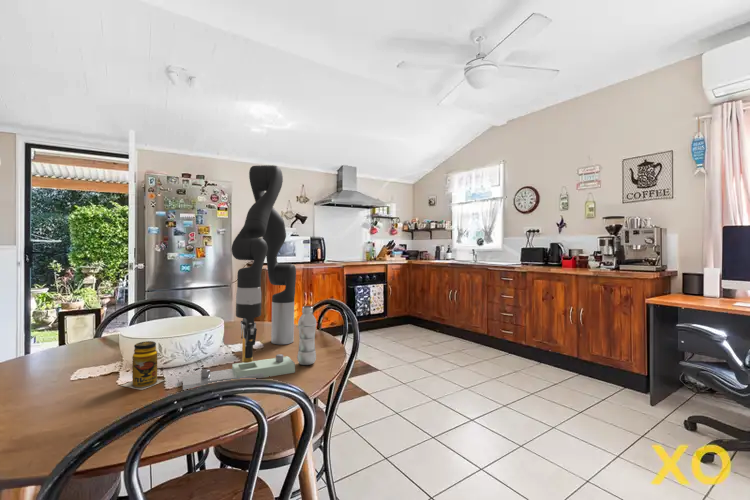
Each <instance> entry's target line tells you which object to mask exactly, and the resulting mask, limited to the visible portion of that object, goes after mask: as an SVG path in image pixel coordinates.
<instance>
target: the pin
mask: <svg viewBox="0 0 750 500" xmlns="http://www.w3.org/2000/svg"><path fill="white" fill-rule="evenodd" d="M246 336H247V335H246ZM241 341H242V346H241V348H242V351H241V363H243V362H244V363H248V362H252V361H254V356H253V357H252V358H245V339H244V338H243V339H242V338H241ZM249 341H252V339H250V340H249Z"/></svg>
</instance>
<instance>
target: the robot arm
mask: <svg viewBox="0 0 750 500" xmlns="http://www.w3.org/2000/svg"><path fill="white" fill-rule="evenodd" d="M248 177H249V178H248V179H249V184H250V187H251V191H252V195H253V198H254V203H253V204H252V205H251V207H250V208H249V209H248V211H247V214H246V218H245V221H244V225H243V227H242V228H241V229H240V230H239V232H238V233H237V235H236V236H235V238H234V239H233V242H232V244H231V250H230V251H231V255H232V256H233V259H236V260H238V261H253V262H252V265H251V266H247V267H242V268H240V269H238V270H237V282H236V284H237V285H236V292H235V293H236V294H235V316H236V317H237V318H239V319H242V320H240V331H241V332H240V333H241V335H240V336H241V337H240V339H241V340H242V339H243V338H244V339H245V358H252V357H253V358H254V346H255V345H256V339H257V331H258V329H257V322H255V318H260V316H262V272H263V267H264V263H265V259H266V264H267V266H266V267H267V268H266V269H267V276H268V281H269V283H270V284H272V285H273V286H285V287H284V290H281V291H280V292H277V293H274V294H272V297H271V335H270V337H271V340H270V341H271V344H274V345H289V344H292V343H294V340H295V339H294V338H295V337H294V335H295V334H294V333H295V297H296V280H297V267H296V266H295V264H294V263H293V264H292V263H278V254H279V252H280V250H281V248H282V247H283V245H284V244H285V241H286V239H287V232H286V225H285V221H284V219H283V217H282V216H281V214H280V213H279V212H278V210H276V209H275V208H274V205H275V203H276V201H277V199H278V197H279V195H280V192H281V190H282V187H283V182H284V179H283V177H284V176H283V171H282V169H281V167H279V166H278V165H274V164H273V165H269V164H268V165H267V164H266V165H262V164H261V165H259V164H258V165H252V166H251V167H250V168H249V173H248ZM246 335H247V336H246ZM250 339H252V341H249V340H250Z"/></svg>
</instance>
